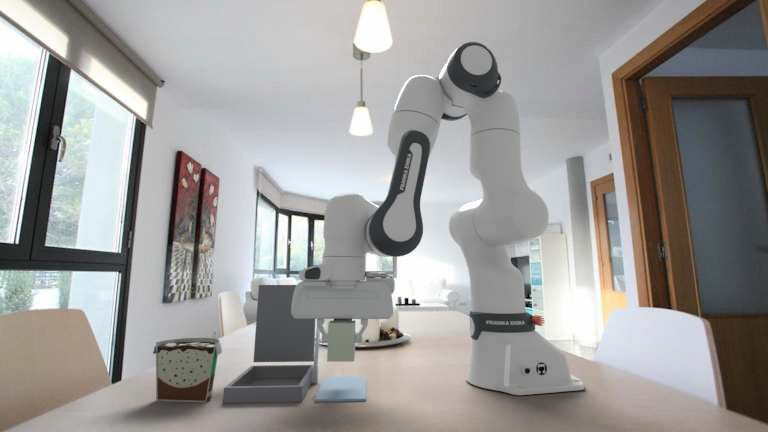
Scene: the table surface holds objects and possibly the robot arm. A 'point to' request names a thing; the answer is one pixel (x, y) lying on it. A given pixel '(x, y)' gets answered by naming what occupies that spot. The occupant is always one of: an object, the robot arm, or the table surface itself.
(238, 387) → the case
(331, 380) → the mat
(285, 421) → the table surface
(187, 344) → the food container
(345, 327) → the module
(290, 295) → the lid
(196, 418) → the table surface
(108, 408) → the table surface
